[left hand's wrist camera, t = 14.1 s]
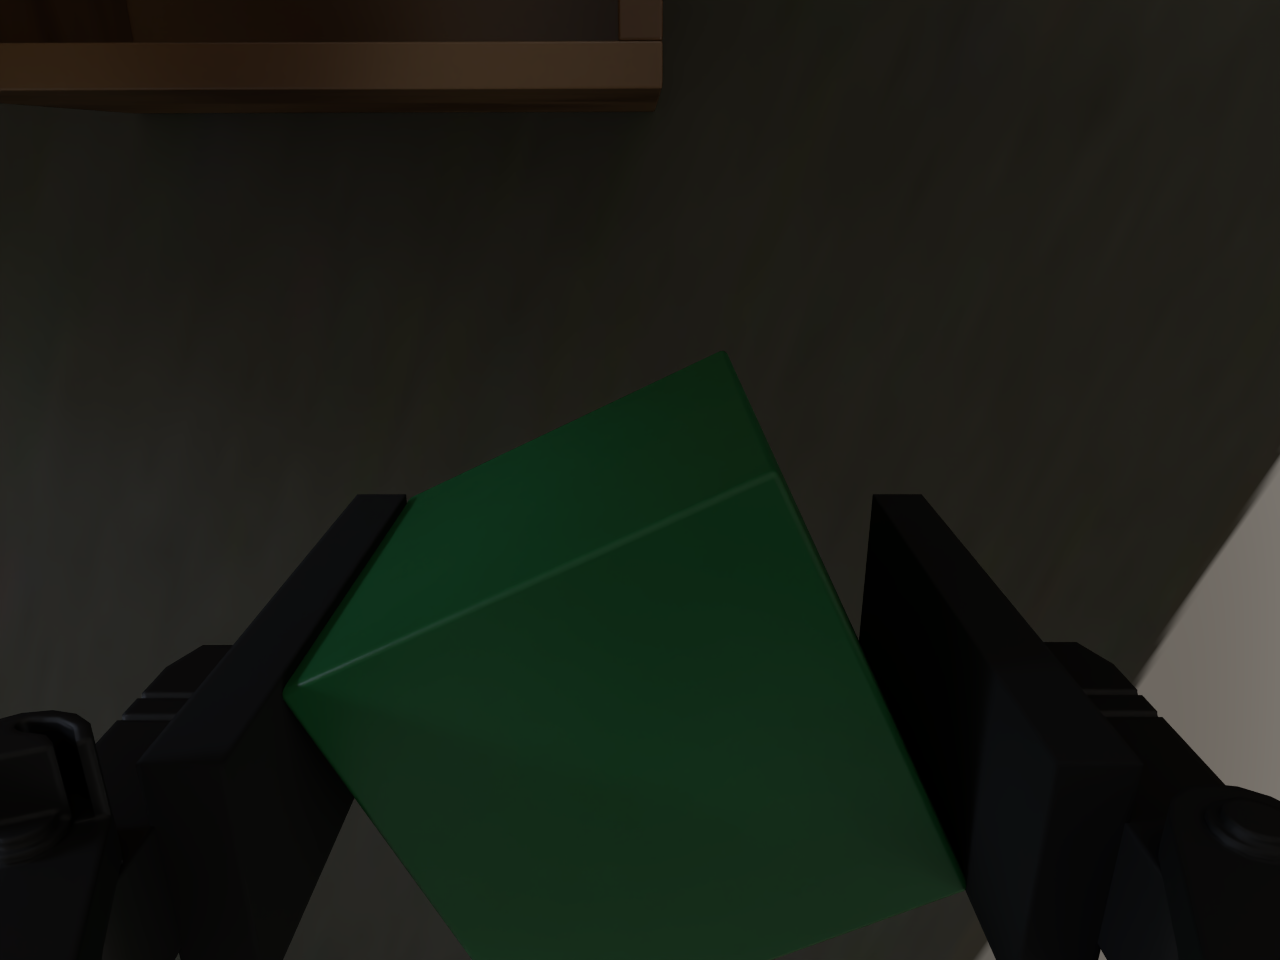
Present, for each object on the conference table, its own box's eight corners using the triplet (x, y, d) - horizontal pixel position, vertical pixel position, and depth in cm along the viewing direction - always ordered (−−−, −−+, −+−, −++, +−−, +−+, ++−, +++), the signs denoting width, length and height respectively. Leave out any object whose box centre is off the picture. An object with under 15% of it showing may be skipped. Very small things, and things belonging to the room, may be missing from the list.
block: (724, 348, 13) (777, 469, 8) (857, 638, 15) (971, 891, 10) (407, 498, 14) (275, 693, 9) (568, 758, 16) (533, 1048, 11)
